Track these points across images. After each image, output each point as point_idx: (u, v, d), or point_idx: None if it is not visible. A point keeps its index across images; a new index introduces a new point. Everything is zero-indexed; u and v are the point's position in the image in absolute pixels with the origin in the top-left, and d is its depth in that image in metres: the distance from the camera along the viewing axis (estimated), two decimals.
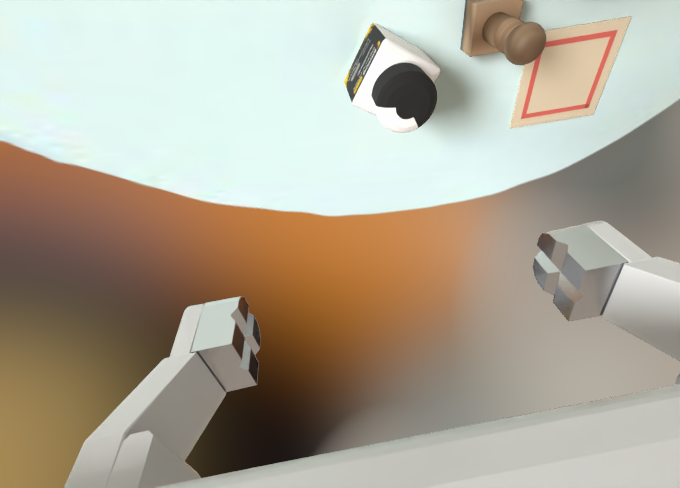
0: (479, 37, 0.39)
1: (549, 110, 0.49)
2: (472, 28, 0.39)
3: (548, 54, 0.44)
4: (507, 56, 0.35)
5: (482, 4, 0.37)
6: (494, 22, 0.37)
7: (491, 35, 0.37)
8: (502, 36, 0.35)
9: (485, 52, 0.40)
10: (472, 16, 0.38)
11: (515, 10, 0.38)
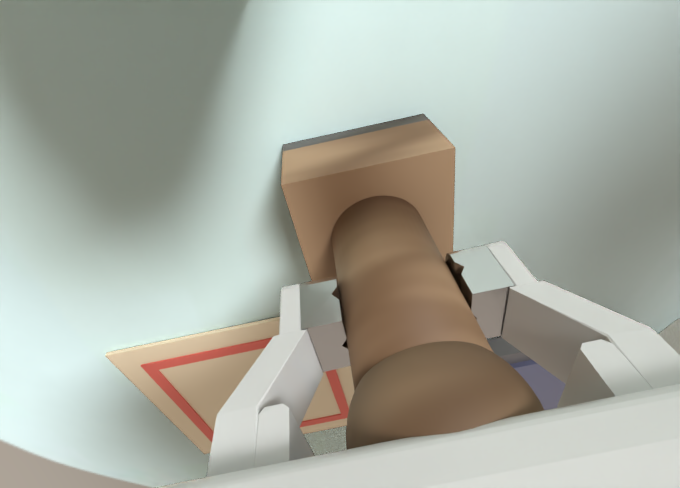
0: (348, 195, 0.10)
1: (185, 401, 0.21)
2: (372, 158, 0.10)
3: None
4: (394, 411, 0.05)
5: (452, 167, 0.10)
6: (422, 232, 0.10)
7: (390, 242, 0.09)
8: (434, 307, 0.07)
9: (302, 232, 0.11)
10: (407, 146, 0.11)
11: None
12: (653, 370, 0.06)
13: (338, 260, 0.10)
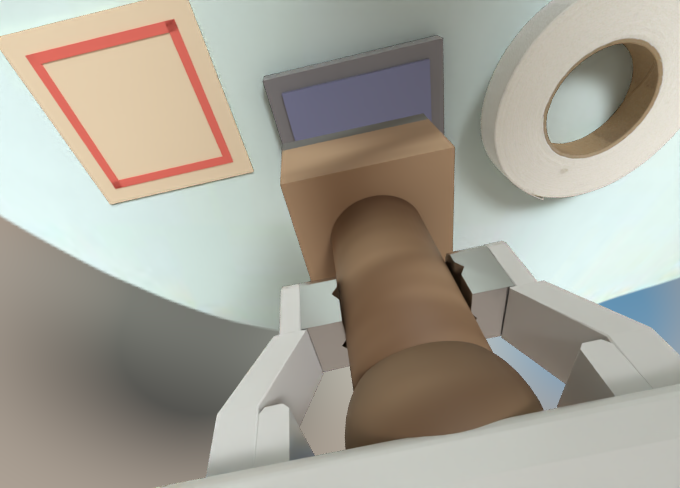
0: (348, 195, 0.10)
1: (76, 116, 0.24)
2: (371, 158, 0.10)
3: (163, 56, 0.23)
4: (393, 411, 0.05)
5: (451, 167, 0.10)
6: (421, 232, 0.10)
7: (389, 242, 0.09)
8: (434, 308, 0.07)
9: (301, 232, 0.11)
10: (407, 146, 0.10)
11: None
12: (653, 370, 0.06)
13: (337, 260, 0.10)
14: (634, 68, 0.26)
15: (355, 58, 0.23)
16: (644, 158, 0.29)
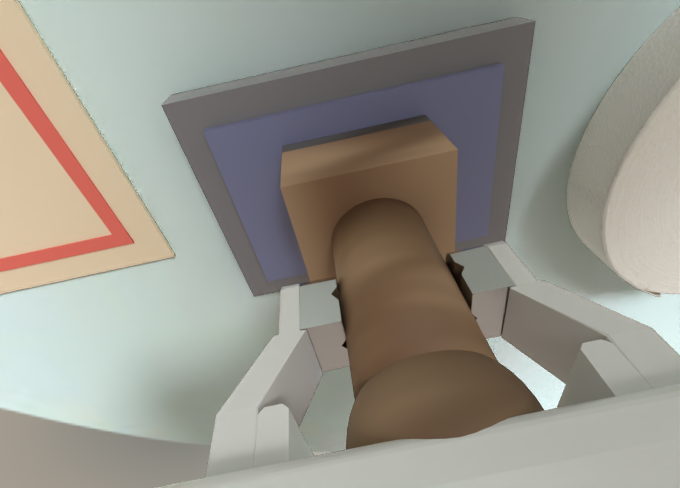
0: (349, 198, 0.10)
1: None
2: (373, 160, 0.10)
3: None
4: (396, 424, 0.05)
5: (454, 170, 0.10)
6: (424, 236, 0.09)
7: (391, 247, 0.09)
8: (437, 315, 0.07)
9: (301, 235, 0.11)
10: (409, 148, 0.10)
11: None
12: (653, 370, 0.06)
13: (338, 264, 0.10)
14: None
15: (353, 61, 0.11)
16: None
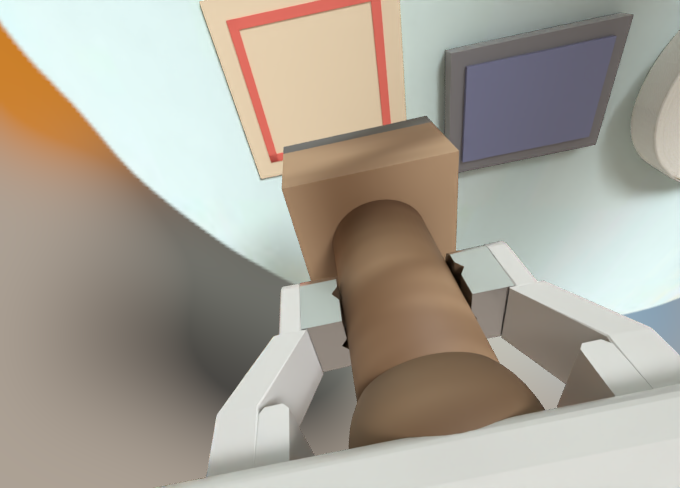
0: (350, 199, 0.10)
1: (255, 86, 0.24)
2: (374, 162, 0.10)
3: (356, 25, 0.23)
4: (398, 426, 0.05)
5: (455, 171, 0.10)
6: (425, 237, 0.09)
7: (393, 248, 0.09)
8: (439, 316, 0.07)
9: (303, 236, 0.11)
10: (410, 149, 0.10)
11: None
12: (653, 370, 0.06)
13: (340, 265, 0.10)
14: None
15: (544, 33, 0.23)
16: None
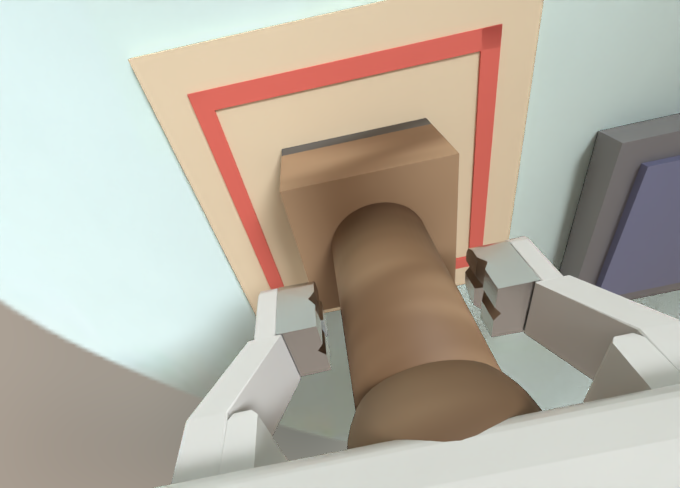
0: (349, 202, 0.10)
1: (249, 201, 0.13)
2: (373, 164, 0.10)
3: (444, 95, 0.12)
4: (398, 437, 0.05)
5: (455, 174, 0.10)
6: (425, 241, 0.09)
7: (392, 252, 0.08)
8: (439, 323, 0.07)
9: (301, 240, 0.11)
10: (409, 152, 0.10)
11: None
12: None
13: (338, 269, 0.10)
14: None
15: None
16: None
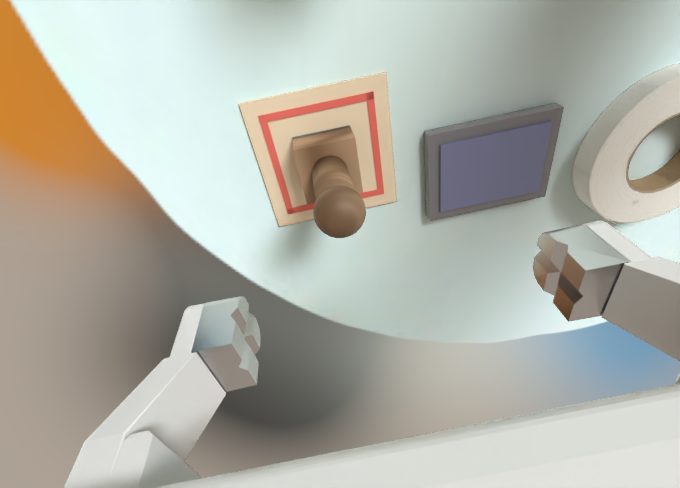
0: (317, 155, 0.28)
1: (277, 159, 0.31)
2: (326, 141, 0.28)
3: (356, 116, 0.30)
4: (323, 195, 0.23)
5: (355, 145, 0.28)
6: (342, 166, 0.27)
7: (330, 167, 0.27)
8: (339, 180, 0.25)
9: (300, 170, 0.29)
10: (339, 137, 0.28)
11: None
12: None
13: (313, 177, 0.28)
14: None
15: (498, 120, 0.31)
16: None
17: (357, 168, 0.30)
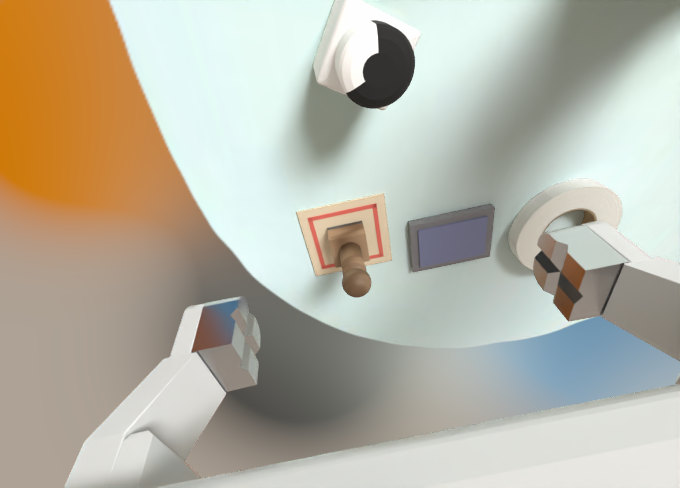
0: (343, 242, 0.48)
1: (317, 239, 0.51)
2: (348, 234, 0.48)
3: (366, 215, 0.50)
4: (348, 275, 0.43)
5: (365, 236, 0.48)
6: (357, 250, 0.47)
7: (350, 253, 0.46)
8: (356, 263, 0.45)
9: (332, 250, 0.49)
10: (356, 231, 0.48)
11: None
12: None
13: (340, 256, 0.47)
14: (584, 213, 0.53)
15: (453, 216, 0.50)
16: None
17: (366, 248, 0.49)
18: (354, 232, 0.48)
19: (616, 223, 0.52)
